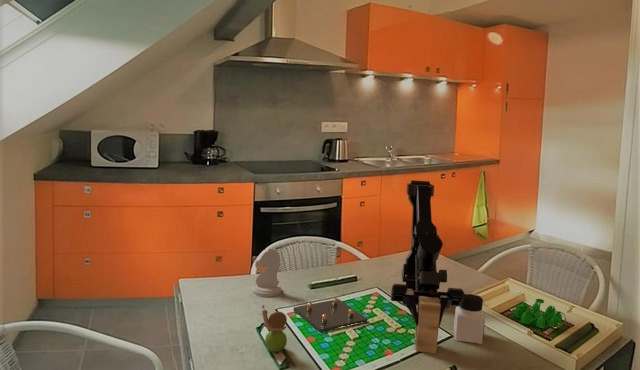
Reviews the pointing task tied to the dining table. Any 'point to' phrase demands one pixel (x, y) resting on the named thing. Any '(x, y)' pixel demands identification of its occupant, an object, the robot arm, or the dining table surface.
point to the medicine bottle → (469, 320)
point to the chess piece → (268, 275)
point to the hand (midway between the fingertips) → (427, 326)
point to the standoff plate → (329, 314)
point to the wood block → (427, 324)
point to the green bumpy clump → (550, 313)
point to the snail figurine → (275, 330)
